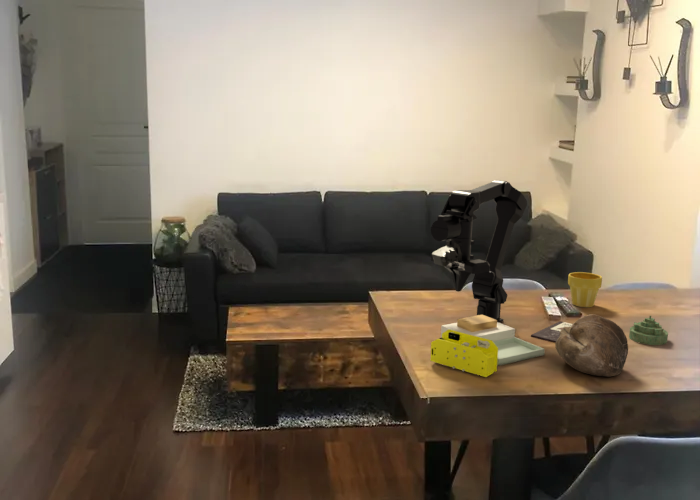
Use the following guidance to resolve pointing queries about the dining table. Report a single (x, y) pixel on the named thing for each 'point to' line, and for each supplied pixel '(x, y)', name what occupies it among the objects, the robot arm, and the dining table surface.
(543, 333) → the chocolate bar
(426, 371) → the dining table surface
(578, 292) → the plant pot
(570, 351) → the seashell
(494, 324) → the tan curved block
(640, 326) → the decorative artifact
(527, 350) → the tray
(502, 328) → the block
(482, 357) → the yellow toy chassis
